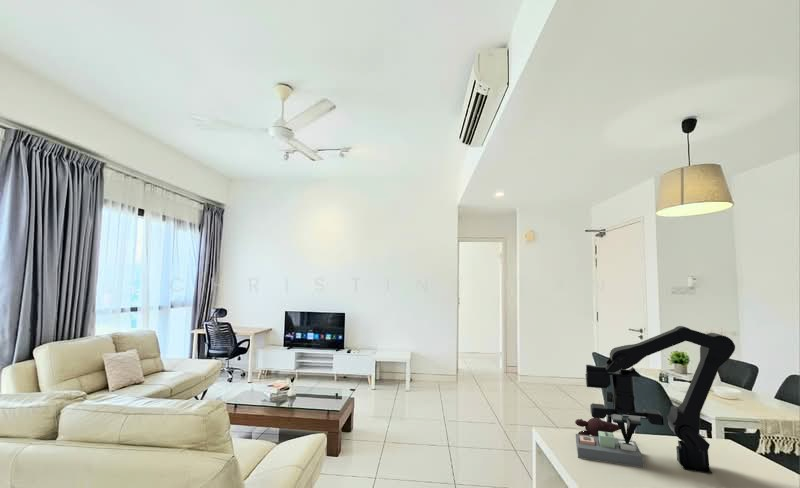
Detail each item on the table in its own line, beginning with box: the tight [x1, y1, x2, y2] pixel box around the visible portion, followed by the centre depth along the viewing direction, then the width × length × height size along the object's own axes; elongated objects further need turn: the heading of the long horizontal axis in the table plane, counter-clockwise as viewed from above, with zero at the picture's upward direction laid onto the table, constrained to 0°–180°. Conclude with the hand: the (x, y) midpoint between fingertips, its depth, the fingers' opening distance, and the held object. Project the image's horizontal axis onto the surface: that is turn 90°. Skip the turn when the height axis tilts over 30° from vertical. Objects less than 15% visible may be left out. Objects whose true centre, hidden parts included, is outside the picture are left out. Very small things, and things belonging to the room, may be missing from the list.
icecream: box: [574, 417, 621, 437], centre depth 129 cm, size 7×7×15 cm
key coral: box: [580, 436, 595, 446], centre depth 118 cm, size 4×4×4 cm
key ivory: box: [619, 441, 636, 451], centre depth 114 cm, size 4×4×4 cm
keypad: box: [575, 433, 645, 468], centre depth 116 cm, size 17×11×3 cm, turn 68°
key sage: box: [598, 431, 616, 448], centre depth 116 cm, size 4×4×4 cm
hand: (627, 443), depth 114 cm, fingers closed
